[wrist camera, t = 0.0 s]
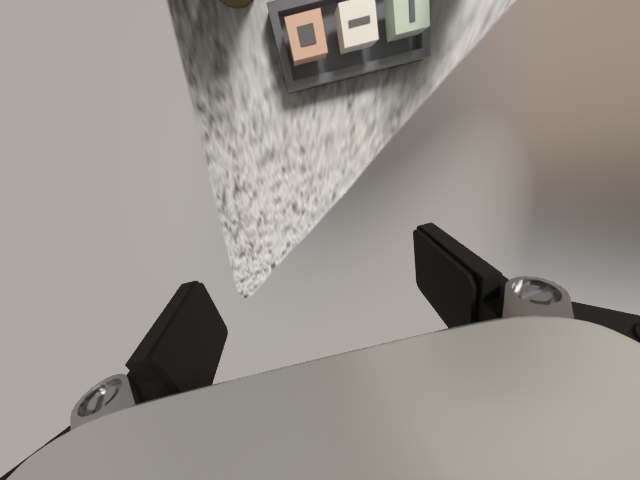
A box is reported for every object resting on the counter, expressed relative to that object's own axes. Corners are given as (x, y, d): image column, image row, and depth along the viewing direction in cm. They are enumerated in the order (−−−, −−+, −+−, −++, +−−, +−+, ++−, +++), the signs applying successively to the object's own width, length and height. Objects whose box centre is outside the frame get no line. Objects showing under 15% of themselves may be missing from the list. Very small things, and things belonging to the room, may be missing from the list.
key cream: (334, 14, 29) (338, 2, 27) (367, 5, 29) (374, -7, 27) (340, 54, 31) (345, 47, 28) (371, 46, 31) (379, 39, 28)
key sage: (383, 1, 29) (392, -12, 27) (416, -8, 29) (429, -21, 26) (386, 42, 31) (396, 34, 28) (418, 34, 31) (430, 25, 28)
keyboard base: (268, 11, 31) (266, 2, 28) (418, -28, 30) (428, -40, 28) (288, 93, 35) (288, 91, 32) (421, 59, 34) (430, 55, 32)
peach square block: (285, 26, 29) (284, 16, 27) (317, 18, 29) (320, 7, 27) (294, 66, 31) (294, 60, 28) (325, 58, 31) (328, 52, 28)
